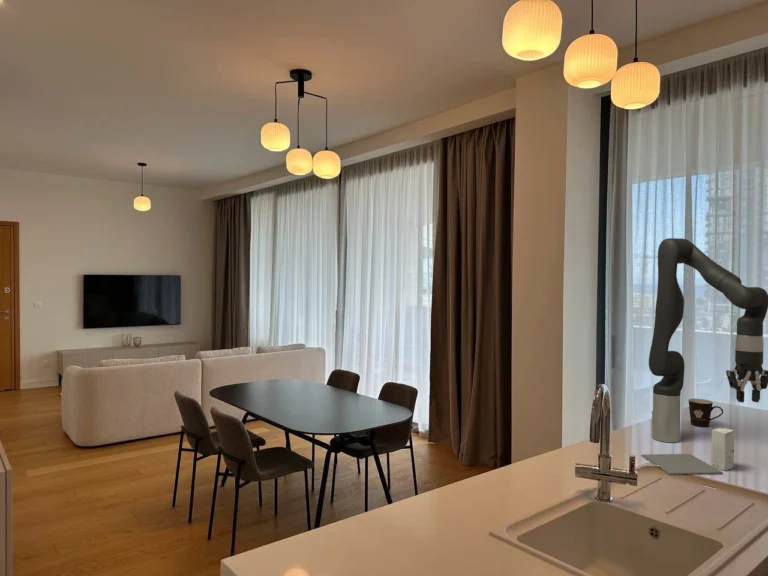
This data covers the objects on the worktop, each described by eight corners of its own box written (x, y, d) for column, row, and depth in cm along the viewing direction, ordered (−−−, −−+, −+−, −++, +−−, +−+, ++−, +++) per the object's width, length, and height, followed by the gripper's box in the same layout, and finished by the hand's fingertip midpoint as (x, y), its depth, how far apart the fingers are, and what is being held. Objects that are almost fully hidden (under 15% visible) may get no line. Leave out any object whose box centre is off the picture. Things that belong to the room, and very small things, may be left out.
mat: (641, 456, 186) (641, 454, 186) (689, 455, 186) (689, 453, 186) (669, 475, 169) (669, 473, 169) (722, 474, 170) (722, 472, 169)
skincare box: (725, 471, 172) (726, 433, 172) (710, 467, 176) (711, 429, 175) (734, 467, 175) (735, 430, 175) (719, 463, 179) (720, 426, 179)
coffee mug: (683, 423, 225) (683, 399, 225) (696, 421, 229) (697, 397, 228) (710, 431, 215) (710, 406, 214) (724, 428, 218) (724, 403, 218)
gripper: (762, 347, 179) (760, 398, 179) (720, 347, 178) (718, 399, 179) (779, 350, 171) (778, 404, 172) (735, 350, 171) (734, 405, 171)
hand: (747, 401), depth 175 cm, fingers open, 4 cm apart
